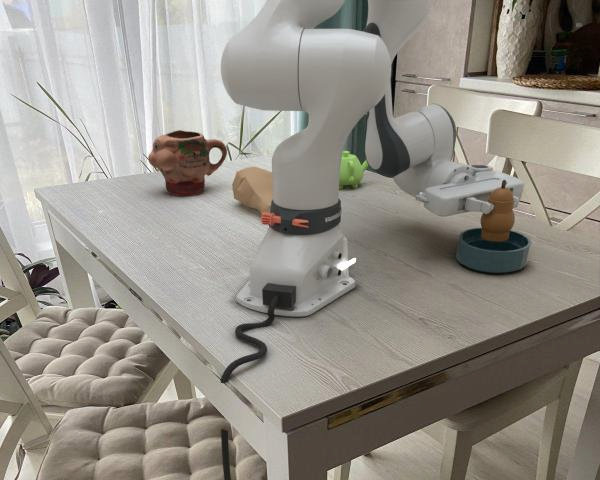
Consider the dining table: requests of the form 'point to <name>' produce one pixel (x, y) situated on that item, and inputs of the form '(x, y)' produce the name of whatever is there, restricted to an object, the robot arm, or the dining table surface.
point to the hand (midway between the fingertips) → (503, 206)
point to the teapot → (351, 170)
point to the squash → (254, 188)
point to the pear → (499, 215)
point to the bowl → (493, 252)
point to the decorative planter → (185, 160)
